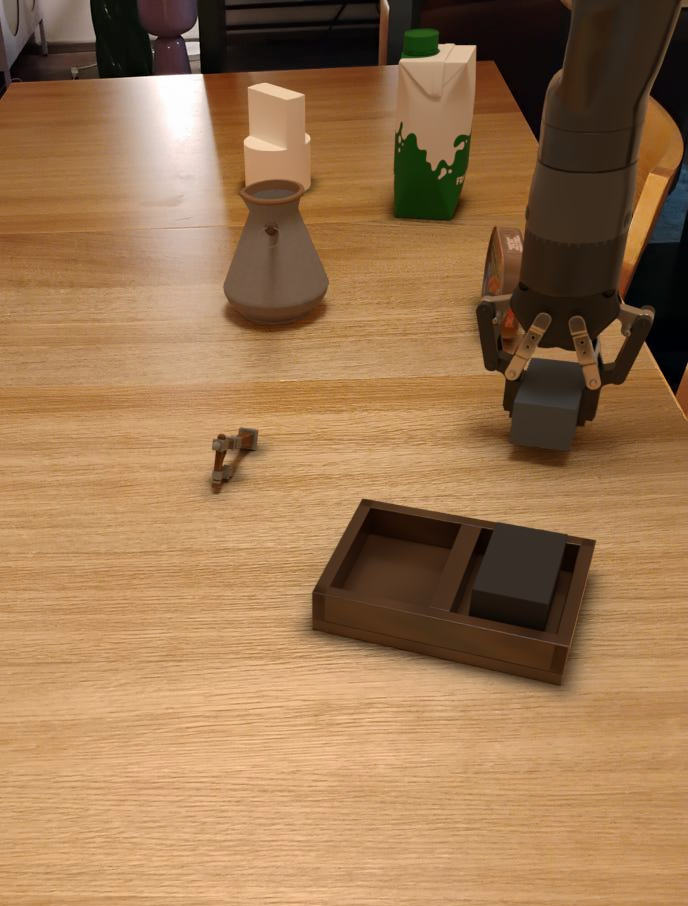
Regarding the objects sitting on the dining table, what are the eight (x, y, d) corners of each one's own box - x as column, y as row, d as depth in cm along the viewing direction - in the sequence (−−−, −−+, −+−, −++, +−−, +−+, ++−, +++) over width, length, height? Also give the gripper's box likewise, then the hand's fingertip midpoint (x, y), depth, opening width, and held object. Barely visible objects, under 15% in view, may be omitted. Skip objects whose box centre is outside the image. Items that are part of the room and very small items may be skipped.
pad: (583, 404, 91) (590, 363, 88) (569, 451, 86) (576, 409, 83) (525, 397, 93) (531, 357, 90) (508, 443, 87) (513, 401, 85)
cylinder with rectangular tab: (324, 185, 141) (324, 89, 133) (271, 203, 137) (268, 105, 129) (284, 170, 146) (282, 77, 138) (232, 186, 143) (227, 92, 135)
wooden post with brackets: (200, 487, 87) (205, 434, 86) (234, 474, 94) (240, 424, 93) (220, 491, 86) (226, 437, 85) (253, 477, 94) (258, 427, 92)
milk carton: (399, 195, 136) (408, 23, 123) (468, 198, 134) (485, 23, 120) (385, 220, 130) (393, 42, 117) (458, 223, 128) (474, 42, 114)
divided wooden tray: (587, 577, 76) (596, 539, 74) (560, 685, 68) (569, 647, 66) (360, 534, 82) (362, 497, 80) (311, 628, 74) (311, 592, 72)
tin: (479, 289, 113) (488, 212, 108) (509, 289, 113) (519, 212, 107) (487, 354, 103) (497, 272, 97) (520, 354, 102) (532, 271, 96)
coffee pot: (227, 289, 118) (219, 152, 108) (327, 285, 117) (328, 146, 107) (216, 380, 103) (205, 230, 92) (332, 376, 101) (333, 224, 91)
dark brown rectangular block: (559, 577, 75) (568, 533, 72) (539, 648, 70) (548, 604, 67) (490, 564, 77) (496, 521, 74) (466, 632, 71) (471, 588, 69)
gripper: (684, 207, 77) (640, 407, 89) (491, 196, 82) (473, 387, 94) (675, 246, 73) (629, 452, 84) (471, 232, 77) (454, 429, 89)
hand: (547, 417), depth 89 cm, fingers closed on pad, 5 cm apart
